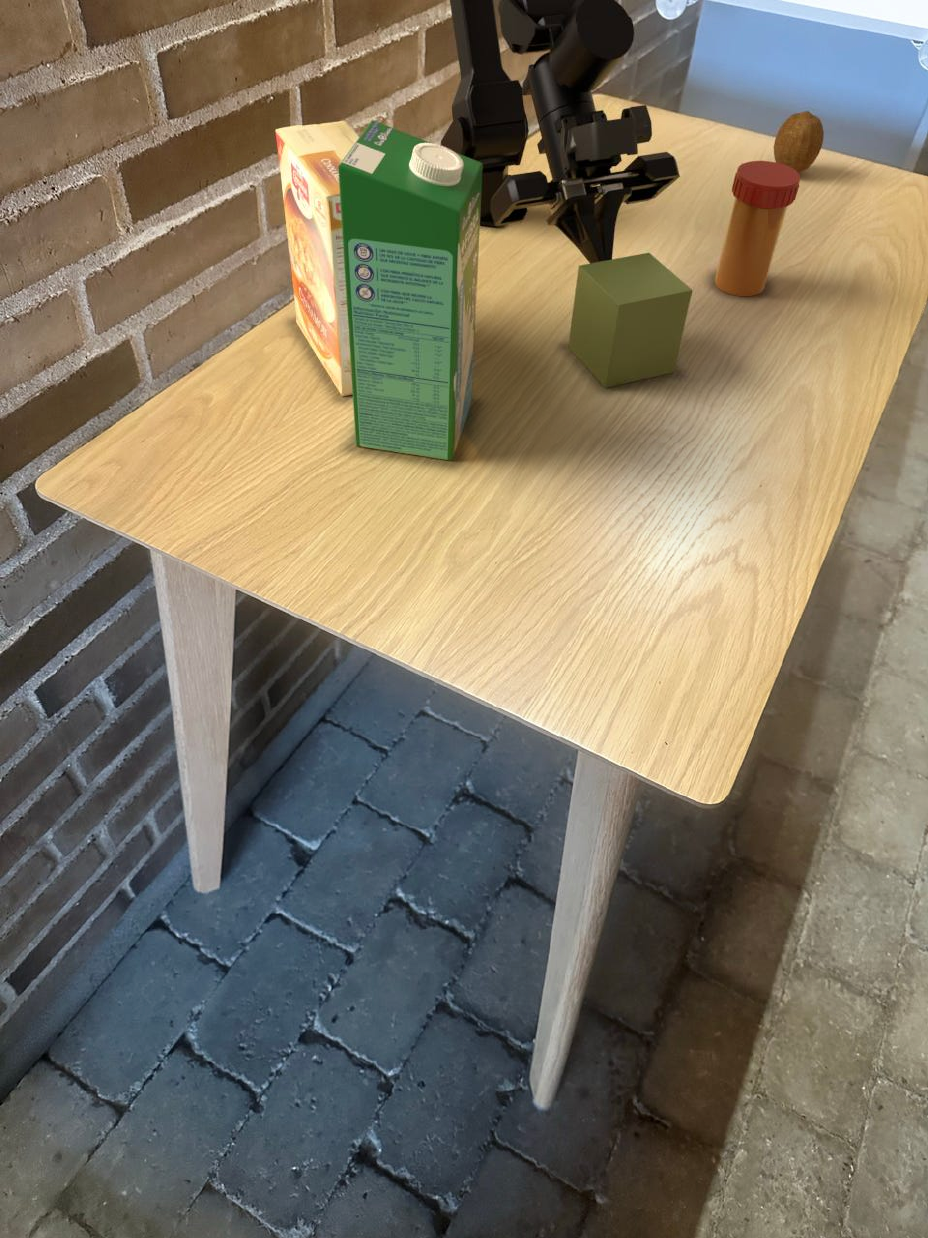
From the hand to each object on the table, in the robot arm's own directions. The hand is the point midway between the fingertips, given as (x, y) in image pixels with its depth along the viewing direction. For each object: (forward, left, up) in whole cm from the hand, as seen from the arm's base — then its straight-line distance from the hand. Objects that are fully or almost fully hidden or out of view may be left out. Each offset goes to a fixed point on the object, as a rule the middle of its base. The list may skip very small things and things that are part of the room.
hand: (605, 273), depth 94 cm
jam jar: (+14, +16, -7) cm, 23 cm away
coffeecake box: (-24, -11, -7) cm, 27 cm away
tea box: (+3, -4, -7) cm, 9 cm away
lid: (+14, +16, +5) cm, 22 cm away
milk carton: (-14, -21, -7) cm, 26 cm away
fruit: (+19, +50, -7) cm, 54 cm away
